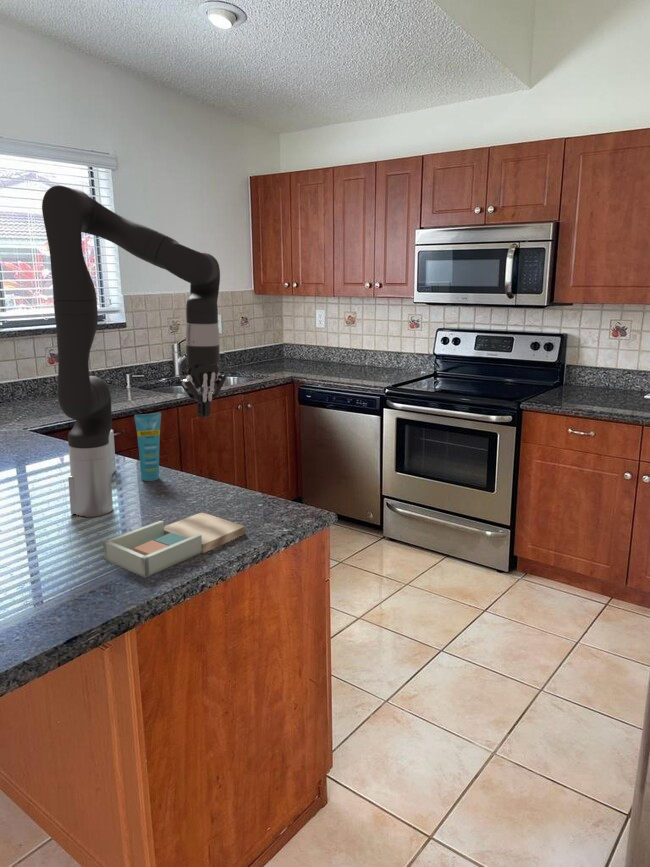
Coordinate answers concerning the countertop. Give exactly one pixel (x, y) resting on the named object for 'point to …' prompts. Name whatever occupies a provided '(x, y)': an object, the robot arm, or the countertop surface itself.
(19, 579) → the countertop surface
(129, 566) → the box
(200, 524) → the maple plate
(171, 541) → the teal square block
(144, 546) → the terracotta tile
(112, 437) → the supplement box
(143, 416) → the tube
